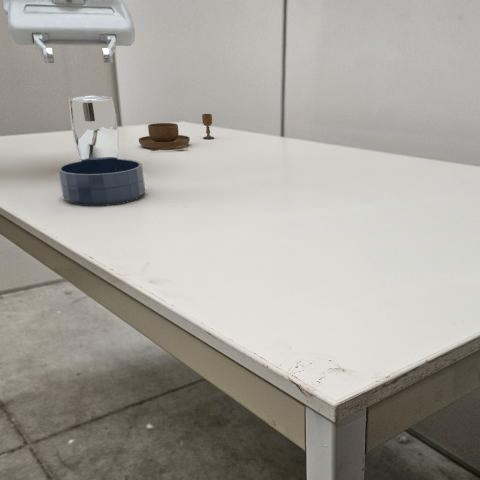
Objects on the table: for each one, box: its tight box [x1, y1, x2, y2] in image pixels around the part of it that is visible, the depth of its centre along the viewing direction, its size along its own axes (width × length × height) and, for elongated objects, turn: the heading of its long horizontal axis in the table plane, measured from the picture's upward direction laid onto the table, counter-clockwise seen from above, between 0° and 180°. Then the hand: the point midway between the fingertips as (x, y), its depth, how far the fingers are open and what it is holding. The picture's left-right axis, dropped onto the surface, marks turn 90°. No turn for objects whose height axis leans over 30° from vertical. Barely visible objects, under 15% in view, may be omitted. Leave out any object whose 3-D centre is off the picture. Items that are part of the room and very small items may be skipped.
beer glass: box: [67, 95, 119, 174], centre depth 99 cm, size 7×7×15 cm
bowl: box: [57, 158, 146, 206], centre depth 102 cm, size 13×13×5 cm
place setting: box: [138, 113, 215, 152], centre depth 149 cm, size 18×20×6 cm
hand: (79, 60), depth 104 cm, fingers open, 8 cm apart
